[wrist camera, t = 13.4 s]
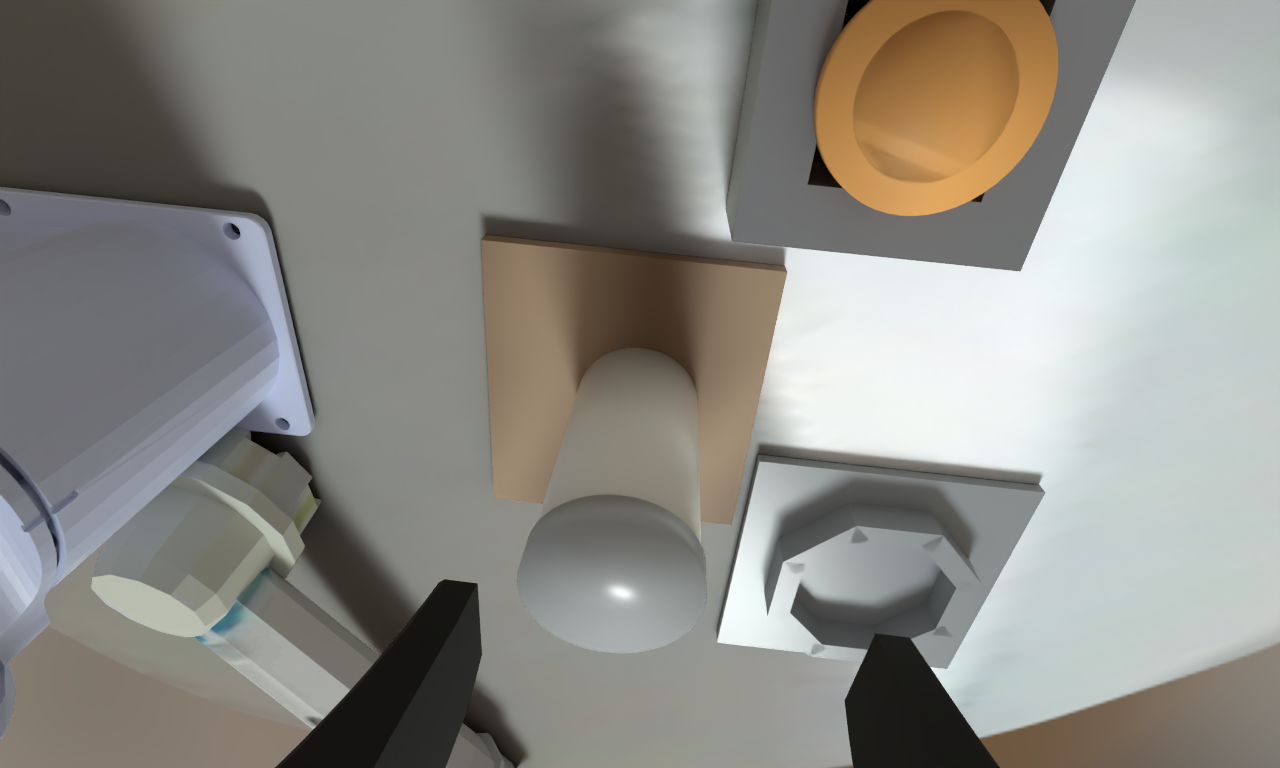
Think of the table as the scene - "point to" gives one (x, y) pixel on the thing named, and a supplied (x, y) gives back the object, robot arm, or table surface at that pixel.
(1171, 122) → the table surface
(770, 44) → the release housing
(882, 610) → the cartridge socket
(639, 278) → the tan board
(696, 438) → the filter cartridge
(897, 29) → the release button
